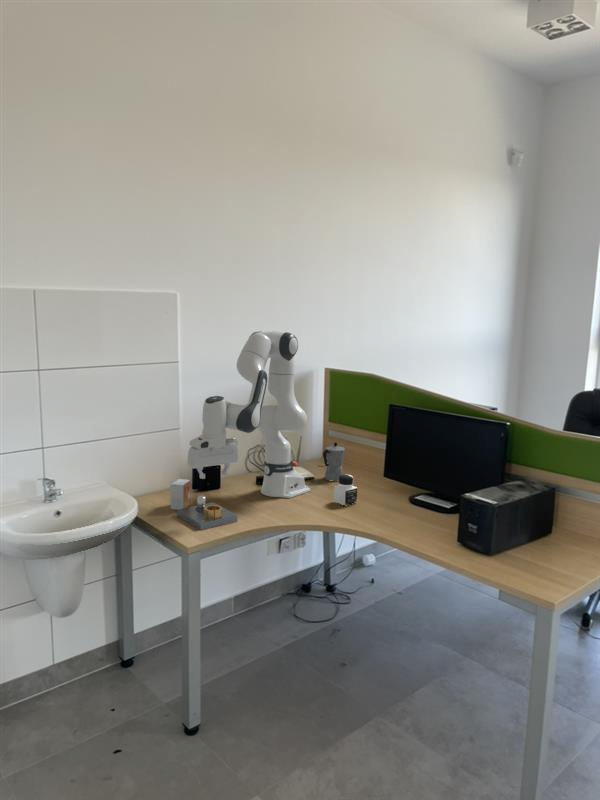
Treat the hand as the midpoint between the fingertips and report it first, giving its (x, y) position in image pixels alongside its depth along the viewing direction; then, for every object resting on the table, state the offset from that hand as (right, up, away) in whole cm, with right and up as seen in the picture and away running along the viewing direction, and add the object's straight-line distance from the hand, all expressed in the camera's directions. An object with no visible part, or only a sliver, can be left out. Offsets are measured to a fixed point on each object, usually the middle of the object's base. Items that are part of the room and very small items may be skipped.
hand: (213, 476), depth 227 cm
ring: (0, -15, +3) cm, 15 cm away
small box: (-16, -15, +19) cm, 29 cm away
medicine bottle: (+52, -15, +31) cm, 62 cm away
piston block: (-3, -17, +6) cm, 18 cm away
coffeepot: (+48, -10, +65) cm, 81 cm away
